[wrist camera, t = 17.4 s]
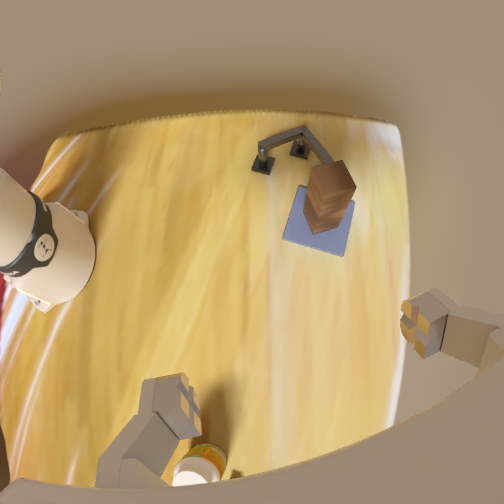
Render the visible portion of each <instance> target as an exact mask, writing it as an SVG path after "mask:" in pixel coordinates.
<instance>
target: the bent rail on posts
mask: <svg viewBox="0 0 504 504" xmlns="http://www.w3.org/2000/svg"><path fill="white" fill-rule="evenodd" d="M295 139H298V141H296V140H295ZM293 140H294V143H293V146H292V148H291V151H290V155H292V156H296V157H300V158H303V159H308V155H309V152H310V149H311V150H312V151H313V152H314V154H315V155H316V156H317V157H318V159H319V160H320V161H321V163H322V164H327V163H331V162H334V160H333V159H332V158H331V157H330V155H329V154H328V153H327V151H326V150H325V149H324V148H323V146H322V145H321V144H320V143H319V142H318V140H317V139H316V138H315V137H314V135H313V134H312V133H311V132H310V131H309V130H308V128H307V127H306V126H304V125H303V126H300V127H297V128H294V129H291V130H289V131H286V132H283V133H280V134H278V135H275V136H272V137H270V138H267V139H265V140H262V141H259V142H258V155H257V157H256V159H255V161H254V164H253V166H252V168H251V169H252V171H255V172H259V173H263V174H267V175H270V173H271V170H272V167H273V165H274V162H275V159H274V158H270V157H268V151H267V150H269V149H272V148H274V147H277V146H280V145H282V144H285V143H287V142H290V141H293Z"/></svg>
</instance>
